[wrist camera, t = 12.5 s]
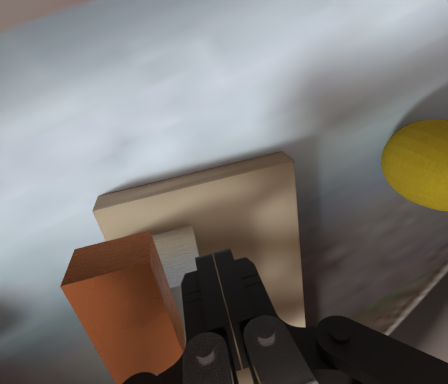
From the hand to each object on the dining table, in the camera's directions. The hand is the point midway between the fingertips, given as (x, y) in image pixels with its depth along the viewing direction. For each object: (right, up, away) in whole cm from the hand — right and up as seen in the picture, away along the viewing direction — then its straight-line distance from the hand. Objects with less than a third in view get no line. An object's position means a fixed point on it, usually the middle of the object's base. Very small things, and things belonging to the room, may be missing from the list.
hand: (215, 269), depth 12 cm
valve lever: (-2, -6, +2) cm, 6 cm away
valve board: (0, -7, +14) cm, 16 cm away
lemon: (+13, +7, +11) cm, 18 cm away
